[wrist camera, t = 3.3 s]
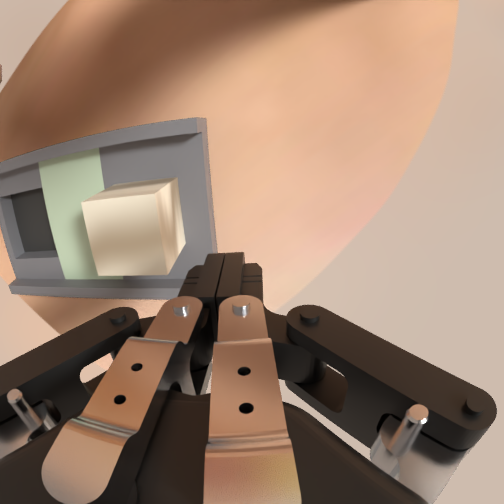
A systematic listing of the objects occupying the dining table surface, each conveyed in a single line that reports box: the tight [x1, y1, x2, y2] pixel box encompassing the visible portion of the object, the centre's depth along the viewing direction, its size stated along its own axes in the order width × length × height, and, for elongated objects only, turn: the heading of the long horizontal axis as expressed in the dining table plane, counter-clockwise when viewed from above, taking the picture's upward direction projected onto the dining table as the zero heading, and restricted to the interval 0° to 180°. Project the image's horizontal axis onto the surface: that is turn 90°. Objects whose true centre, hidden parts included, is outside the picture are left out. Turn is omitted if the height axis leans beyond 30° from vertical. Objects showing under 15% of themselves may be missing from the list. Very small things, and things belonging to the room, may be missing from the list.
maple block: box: [81, 177, 186, 276], centre depth 19 cm, size 5×5×5 cm
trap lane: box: [0, 117, 218, 300], centre depth 22 cm, size 13×22×4 cm, turn 93°
